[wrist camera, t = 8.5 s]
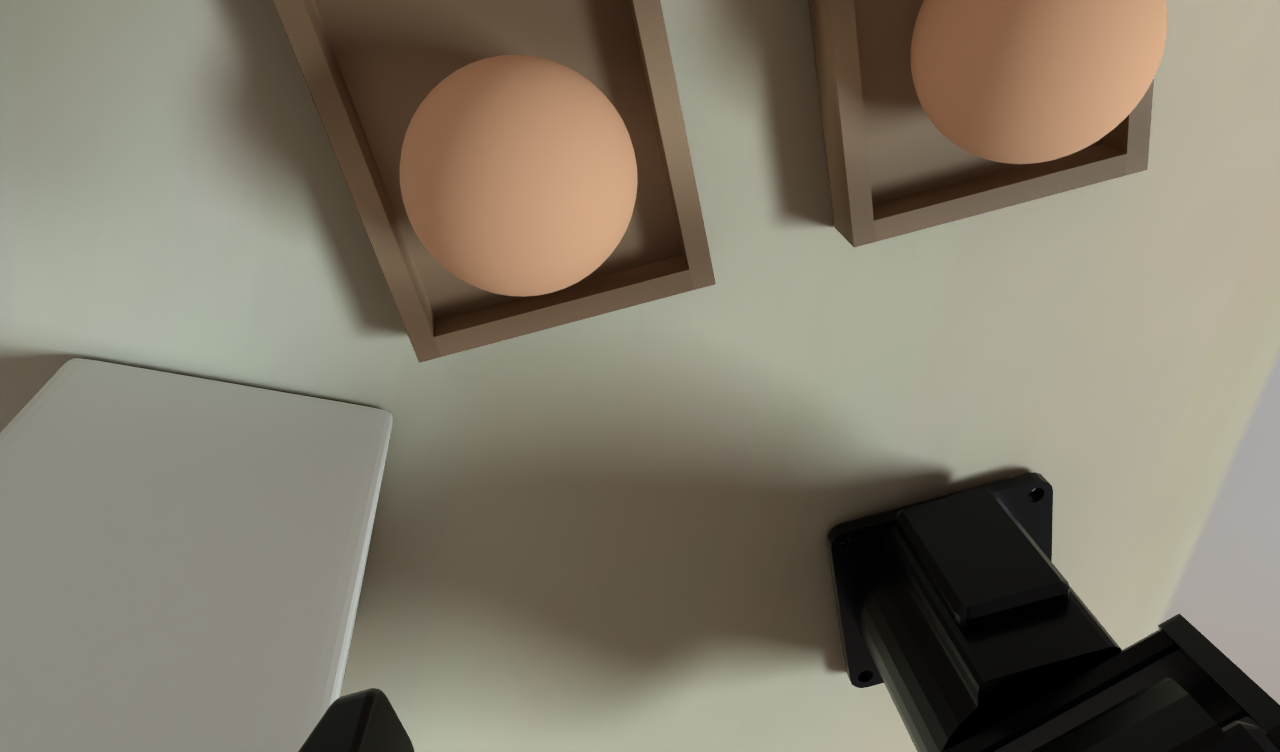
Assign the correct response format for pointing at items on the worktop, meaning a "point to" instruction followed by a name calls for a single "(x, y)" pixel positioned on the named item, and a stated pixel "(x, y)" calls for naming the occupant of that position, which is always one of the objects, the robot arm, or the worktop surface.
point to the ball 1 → (518, 175)
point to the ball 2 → (1034, 71)
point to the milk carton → (179, 561)
